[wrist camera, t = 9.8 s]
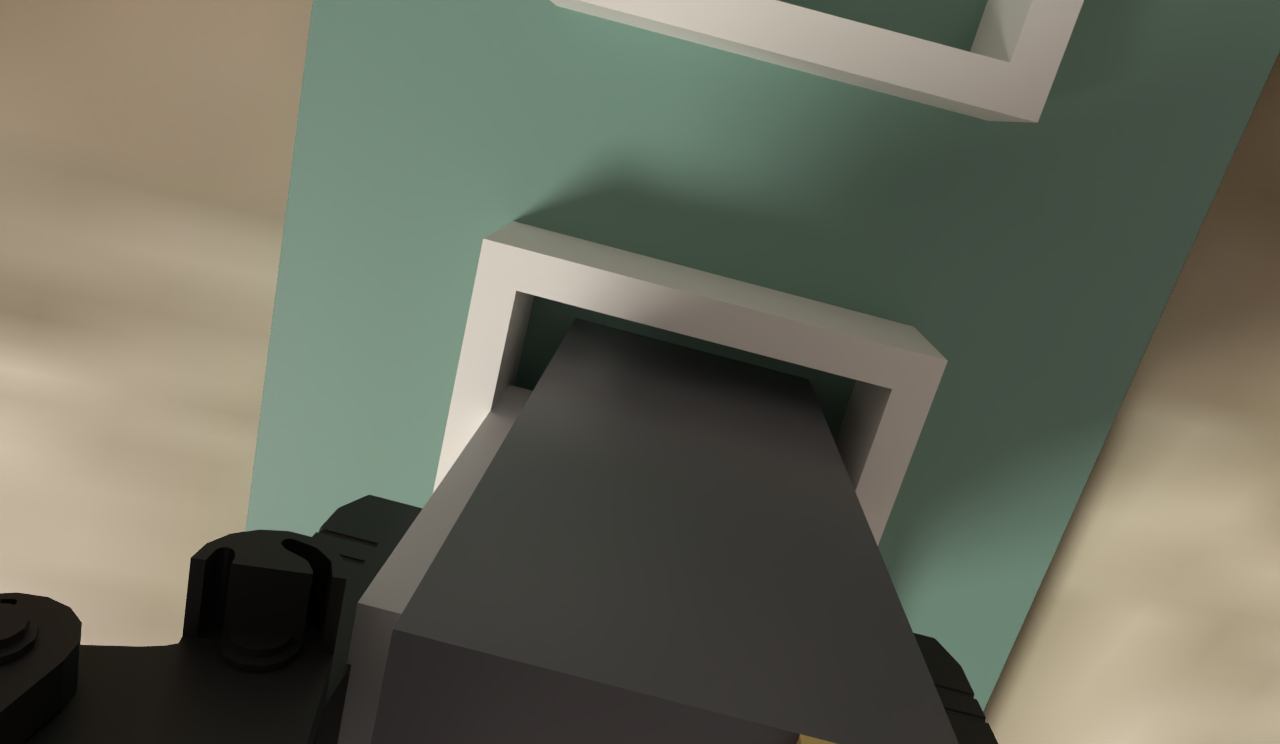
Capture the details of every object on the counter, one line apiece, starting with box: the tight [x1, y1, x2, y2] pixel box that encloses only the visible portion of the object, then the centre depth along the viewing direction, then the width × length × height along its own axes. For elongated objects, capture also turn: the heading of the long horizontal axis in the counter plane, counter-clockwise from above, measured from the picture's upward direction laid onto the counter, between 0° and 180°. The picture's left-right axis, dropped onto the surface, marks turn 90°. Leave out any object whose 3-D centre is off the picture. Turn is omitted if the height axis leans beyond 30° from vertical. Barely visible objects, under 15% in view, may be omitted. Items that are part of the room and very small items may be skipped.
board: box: [245, 0, 1280, 711], centre depth 13 cm, size 24×14×3 cm, turn 166°
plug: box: [371, 318, 959, 744], centre depth 11 cm, size 5×4×9 cm
